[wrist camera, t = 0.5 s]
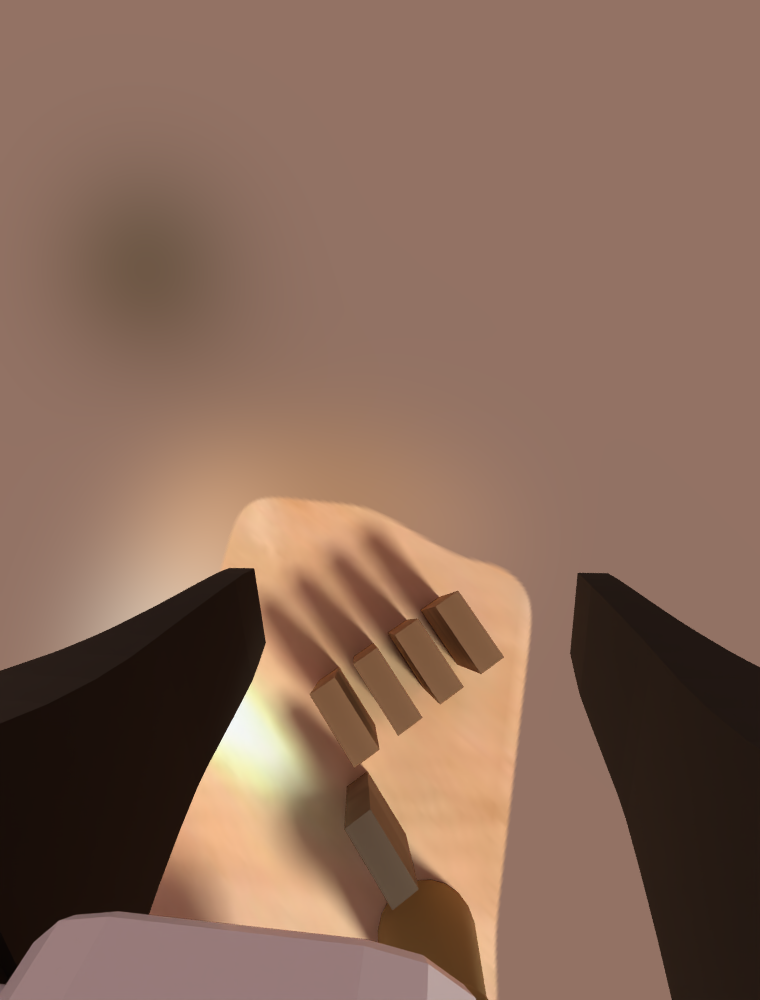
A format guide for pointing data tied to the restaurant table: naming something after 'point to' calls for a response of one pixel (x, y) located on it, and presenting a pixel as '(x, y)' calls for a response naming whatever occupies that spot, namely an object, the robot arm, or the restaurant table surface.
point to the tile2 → (346, 717)
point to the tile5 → (462, 633)
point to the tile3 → (386, 689)
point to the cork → (437, 932)
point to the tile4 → (425, 660)
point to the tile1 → (379, 840)
